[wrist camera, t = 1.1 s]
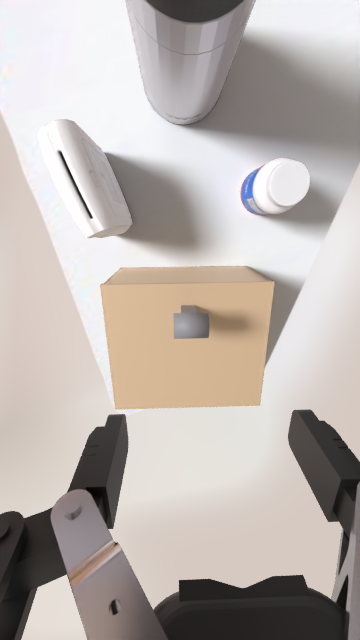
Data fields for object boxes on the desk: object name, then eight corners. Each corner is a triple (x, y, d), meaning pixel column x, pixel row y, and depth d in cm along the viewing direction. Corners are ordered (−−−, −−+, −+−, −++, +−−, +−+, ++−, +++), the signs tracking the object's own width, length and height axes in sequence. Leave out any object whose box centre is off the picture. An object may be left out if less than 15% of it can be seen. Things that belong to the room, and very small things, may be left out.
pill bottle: (259, 159, 33) (292, 135, 24) (288, 188, 34) (331, 176, 25) (230, 197, 34) (251, 188, 25) (260, 223, 36) (290, 224, 27)
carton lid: (101, 283, 28) (83, 300, 22) (272, 280, 28) (298, 296, 22) (116, 406, 34) (104, 444, 28) (258, 402, 34) (276, 439, 28)
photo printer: (71, 158, 32) (15, 123, 21) (103, 143, 32) (63, 100, 20) (109, 239, 36) (78, 248, 24) (137, 227, 35) (121, 230, 24)
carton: (120, 267, 37) (103, 283, 28) (246, 265, 38) (270, 280, 28) (129, 365, 43) (117, 406, 34) (238, 363, 43) (256, 402, 34)
